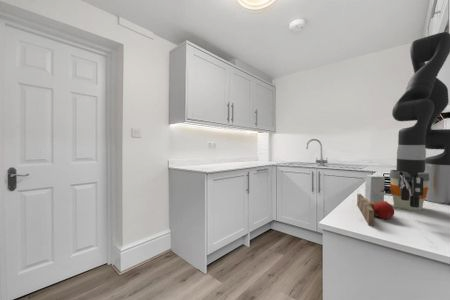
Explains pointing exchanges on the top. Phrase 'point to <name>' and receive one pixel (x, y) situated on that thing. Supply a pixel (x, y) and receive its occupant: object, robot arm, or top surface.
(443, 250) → the top surface
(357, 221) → the top surface
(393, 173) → the reusable coffee cup
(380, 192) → the skincare box
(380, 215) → the kendama
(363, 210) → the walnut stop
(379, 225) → the top surface
